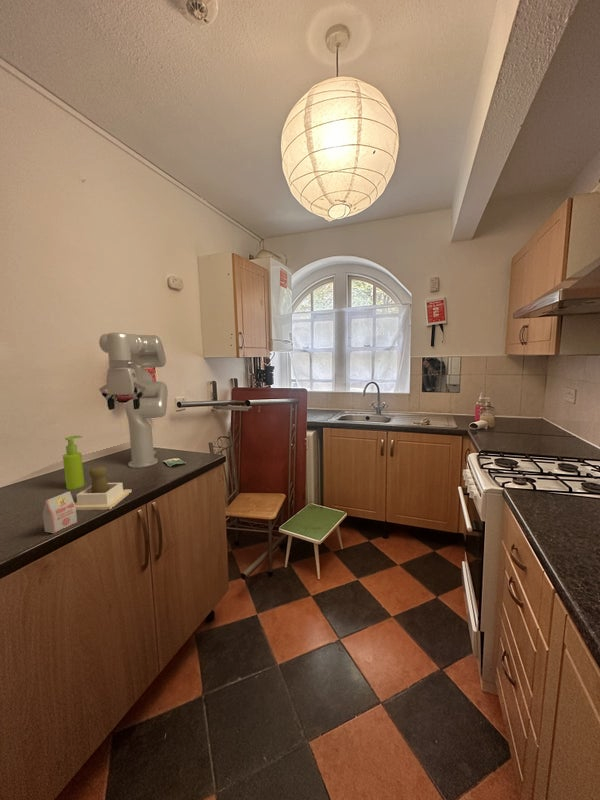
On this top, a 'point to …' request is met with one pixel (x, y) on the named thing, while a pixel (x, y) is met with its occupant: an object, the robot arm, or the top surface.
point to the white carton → (59, 512)
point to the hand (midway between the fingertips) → (124, 409)
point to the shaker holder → (101, 498)
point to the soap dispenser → (73, 465)
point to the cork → (99, 480)
